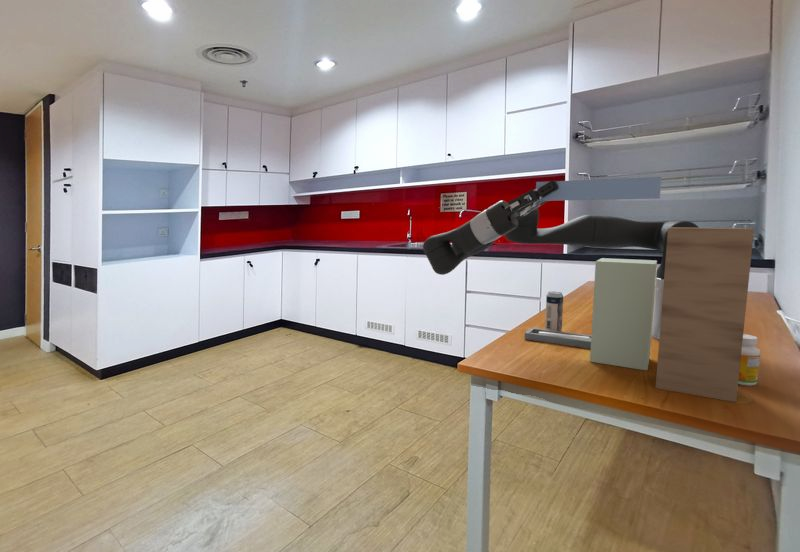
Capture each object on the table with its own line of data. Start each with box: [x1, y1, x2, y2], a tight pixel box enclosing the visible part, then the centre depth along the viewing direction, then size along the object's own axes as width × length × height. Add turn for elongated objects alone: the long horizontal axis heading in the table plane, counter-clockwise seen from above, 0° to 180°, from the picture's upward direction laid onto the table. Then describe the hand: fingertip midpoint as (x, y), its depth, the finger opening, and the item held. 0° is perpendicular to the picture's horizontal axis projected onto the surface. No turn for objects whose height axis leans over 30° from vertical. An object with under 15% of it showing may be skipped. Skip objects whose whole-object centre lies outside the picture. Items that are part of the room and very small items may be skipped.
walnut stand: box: [655, 227, 755, 403], centre depth 87 cm, size 8×13×32 cm, turn 58°
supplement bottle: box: [738, 333, 761, 386], centre depth 92 cm, size 5×5×10 cm
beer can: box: [544, 291, 564, 332], centre depth 132 cm, size 5×5×12 cm
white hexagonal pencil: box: [539, 332, 591, 341], centre depth 123 cm, size 3×2×16 cm
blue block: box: [535, 176, 662, 202], centre depth 94 cm, size 4×24×4 cm, turn 58°
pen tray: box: [524, 327, 591, 350], centre depth 122 cm, size 7×22×2 cm, turn 58°
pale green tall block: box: [589, 257, 658, 371], centre depth 105 cm, size 10×12×24 cm
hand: (558, 184), depth 98 cm, fingers closed on blue block, 4 cm apart
